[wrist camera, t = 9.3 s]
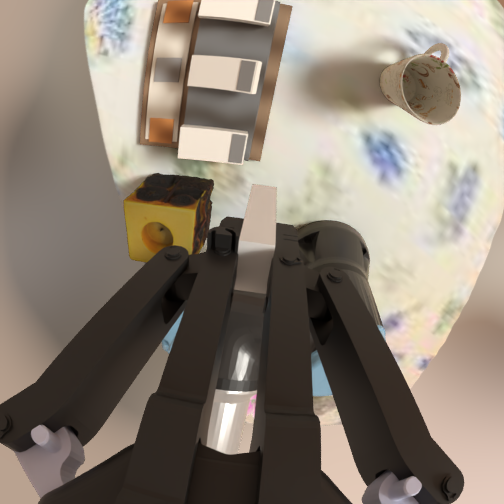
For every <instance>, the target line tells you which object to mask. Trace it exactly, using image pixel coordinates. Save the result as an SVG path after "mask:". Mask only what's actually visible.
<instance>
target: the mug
mask: <svg viewBox="0 0 504 504" xmlns="http://www.w3.org/2000/svg"><path fill="white" fill-rule="evenodd" d="M439 50H440V51H441V56H440V58H438V57H436V56H433V55H431V54H432V53H434V52H436V51H439ZM448 57H449V49H448V47H447V46H446V45H445V44H442V43H438V44H435V45H433V46H432V47H430V48H429V49H428V50H427V51H426V52H425V53H424V54H418V55H415V56H412V57H409V58H407V59H404V60H402V61H400V62H397V63H395V64H393V65H390V66H388V67H387V68H385V69H384V71H383V72H382V74H381V76H380V87H381V90H382V92H383V94H384V95H385V97H386V98H387V99H388V100H389V101H391V102H392V103H394V104H395V105H397V106H399V107H400V108H402V109H403V110H405V111H406V112H408V113H410V114H411V115H413V116H414V117H416V118H417V119H419V120H420V121H422V122H425V123H427V124H431V125H441V124H444V123H447V122H448V121H450V120H451V119H452V118H453V117H454V116H455V115H456V113H457V111H458V109H459V106H460V101H461V91H460V85H459V82H458V79H457V77H456V75H455V73H454V72H453V70H452V69H451V68H450V66H449V65H448V64H447V63H446V61H447V59H448Z"/></svg>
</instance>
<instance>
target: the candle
mask: <svg viewBox="0 0 504 504" xmlns="http://www.w3.org/2000/svg"><path fill="white" fill-rule="evenodd" d="M213 186H214V181H213V180H212V179H210V180H208V179H204V178H203V179H200V178H198V177H189V176H179V175H162V174H159V173H156V174H152V176H150V177H147V178H146V180H145V181H143V183H142V184H141V185H140V186H139V187H138V188H137V189H136V190H135V191H134V193H131V195H130V196H129V197H127V198H126V199H125V200H124V213H125V220H126V229H127V239H128V248H129V256H130V258H131V259H132V260H136V261H141V262H148V261H149V260H150V259H151V258H152V257H153V256H155V255H156V254H157V253H158V252H159V251H160V250H161V249H163V248H164V247H167V246H172V245H176V246H182V247H184V248H186V250H187V251H188V254H189V255H191V254H199V252H200V250H201V248H202V247H203V245H204V243H205V240H206V238H207V236H208V231H209V225H210V221H211V220H210V218H211V210H212V206H211V204H212V202H211V200H210V196H211V192H212V190H213Z"/></svg>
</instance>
